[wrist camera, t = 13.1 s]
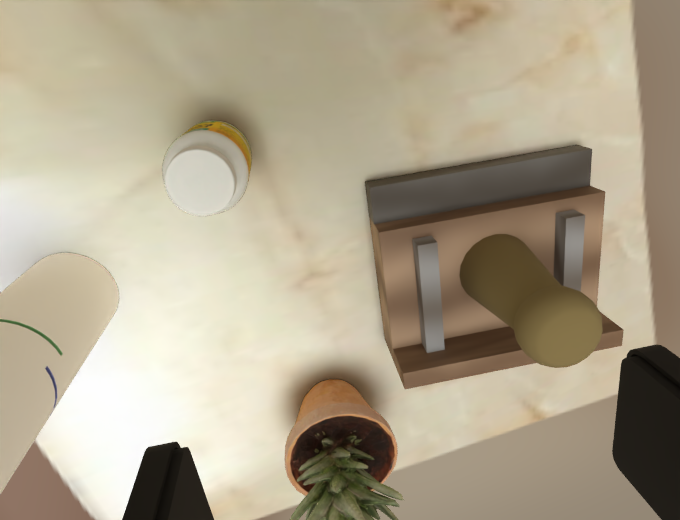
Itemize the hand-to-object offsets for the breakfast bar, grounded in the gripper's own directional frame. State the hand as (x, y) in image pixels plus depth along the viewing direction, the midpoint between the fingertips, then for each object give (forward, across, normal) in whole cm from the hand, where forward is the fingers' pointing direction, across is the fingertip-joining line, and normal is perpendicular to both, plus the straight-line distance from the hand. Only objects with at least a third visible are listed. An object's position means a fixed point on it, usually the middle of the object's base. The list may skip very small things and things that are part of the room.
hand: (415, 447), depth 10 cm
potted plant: (+31, +2, +23) cm, 38 cm away
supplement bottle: (+31, +7, -2) cm, 31 cm away
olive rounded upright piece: (+26, -13, +10) cm, 31 cm away
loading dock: (+30, -13, +9) cm, 34 cm away
